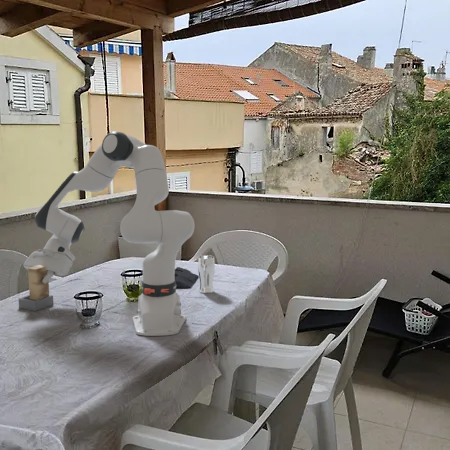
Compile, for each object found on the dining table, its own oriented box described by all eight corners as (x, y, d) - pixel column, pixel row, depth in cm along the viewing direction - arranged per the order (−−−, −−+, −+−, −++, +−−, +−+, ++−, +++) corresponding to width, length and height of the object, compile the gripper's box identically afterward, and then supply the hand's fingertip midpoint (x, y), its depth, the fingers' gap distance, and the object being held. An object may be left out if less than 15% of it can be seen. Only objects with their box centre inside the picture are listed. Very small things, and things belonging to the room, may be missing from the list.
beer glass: (215, 289, 216) (215, 255, 213) (213, 294, 209) (213, 259, 206) (199, 288, 216) (199, 254, 214) (197, 293, 209) (196, 258, 207)
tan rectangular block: (41, 294, 197) (40, 264, 195) (49, 295, 195) (47, 265, 193) (29, 298, 192) (27, 268, 190) (37, 300, 190) (35, 269, 188)
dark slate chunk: (156, 289, 217) (156, 278, 217) (168, 275, 239) (168, 265, 238) (191, 290, 216) (191, 279, 215) (200, 276, 237) (199, 266, 237)
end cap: (37, 301, 198) (36, 292, 198) (53, 304, 195) (53, 295, 194) (19, 307, 190) (18, 298, 190) (35, 311, 187) (35, 302, 186)
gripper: (31, 244, 201) (12, 274, 194) (70, 249, 192) (52, 280, 185) (40, 253, 206) (22, 282, 199) (78, 258, 197) (62, 289, 190)
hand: (37, 281), depth 192 cm, fingers closed on tan rectangular block, 4 cm apart
